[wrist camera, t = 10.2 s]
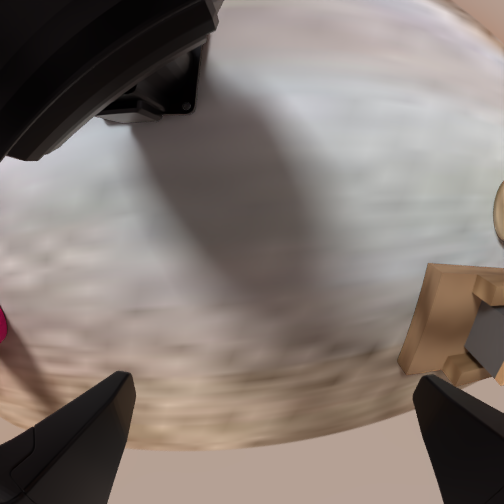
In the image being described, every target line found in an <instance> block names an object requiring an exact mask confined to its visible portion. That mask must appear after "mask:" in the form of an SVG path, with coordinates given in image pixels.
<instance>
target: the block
mask: <svg viewBox="0 0 504 504" xmlns="http://www.w3.org/2000/svg"><path fill="white" fill-rule="evenodd" d="M464 347H465V348H466V349H467V350H468V351H469V352H470V353H471V354H472V355H473V356H474V357H475V358H476V359H477V360H478V362H479V363H480V364H481V365H482V366H483V367H484V368H485V369H486V370H487V371H488V372H489V373H490V375H491V376H492V377H493V378H494V379H495V380H496V381H497V382H498V383H499V385H500V386H503V385H504V305H499V306H490V305H488V304H487V303H486V302H484V301H483V300H482V301H481V304H480V307H479V310H478V312H477V315H476V318H475V321H474V323H473V326H472V328H471V331H470V333H469V336H468V338H467V340H466V343H465V345H464Z"/></svg>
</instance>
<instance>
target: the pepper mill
mask: <svg viewBox="0 0 504 504" xmlns="http://www.w3.org/2000/svg"><path fill="white" fill-rule="evenodd" d="M6 334H7V324H6V320H5V317H4V314H3V311H2V309H1V307H0V343H1V342H2V341H3V340H4V339H5V337H6Z"/></svg>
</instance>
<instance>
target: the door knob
mask: <svg viewBox="0 0 504 504" xmlns="http://www.w3.org/2000/svg"><path fill="white" fill-rule="evenodd" d="M493 218H494V226H495V230H496V232H497V234H498V236H499V238H500V239H501V240H503V241H504V181H503V182H502V184H501V185H500V187H499V189H498V191H497V194H496V198H495V202H494V211H493Z"/></svg>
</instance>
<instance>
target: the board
mask: <svg viewBox="0 0 504 504" xmlns="http://www.w3.org/2000/svg"><path fill="white" fill-rule="evenodd" d="M482 300H483V301H484V302H486V303H487V304H488V305H490V306H499V305H504V268H491V267H476V266H462V265H447V264H433V263H428V265H427V269H426V273H425V277H424V281H423V285H422V288H421V292H420V296H419V299H418V302H417V306H416V309H415V312H414V315H413V318H412V322H411V325H410V328H409V330H408V333H407V336H406V339H405V342H404V345H403V347H402V350H401V353H400V355H399V358H398V360H397V362H398V363H399V365H400V366H401V368H402V369H403V371H404V372H405V374H406V375H411V374H418V373H425V372H431V371H437V370H442V371H443V372H444V374H445V375H446V376H447V377H448V379H449V380H450V381H451V383H452V384H453V385H454V386H455V387H456V386H460V385H464V384H468V383H472V382H475V381H479V380H482V379H486V378H489V377H492V376H491V375H490V373H489V372H488V371H487V370H486V369H485V368H484V367H483V366H482V365H481V364H480V363H479V362H478V360H477V359H476V358H475V357H474V356H473V355H472V354H471V353H470V352H469V351H468V350H467V349H466V348H465V347H464V345H465V343H466V340H467V338H468V336H469V333H470V331H471V328H472V326H473V323H474V321H475V318H476V315H477V312H478V310H479V307H480V304H481V301H482Z"/></svg>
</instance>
